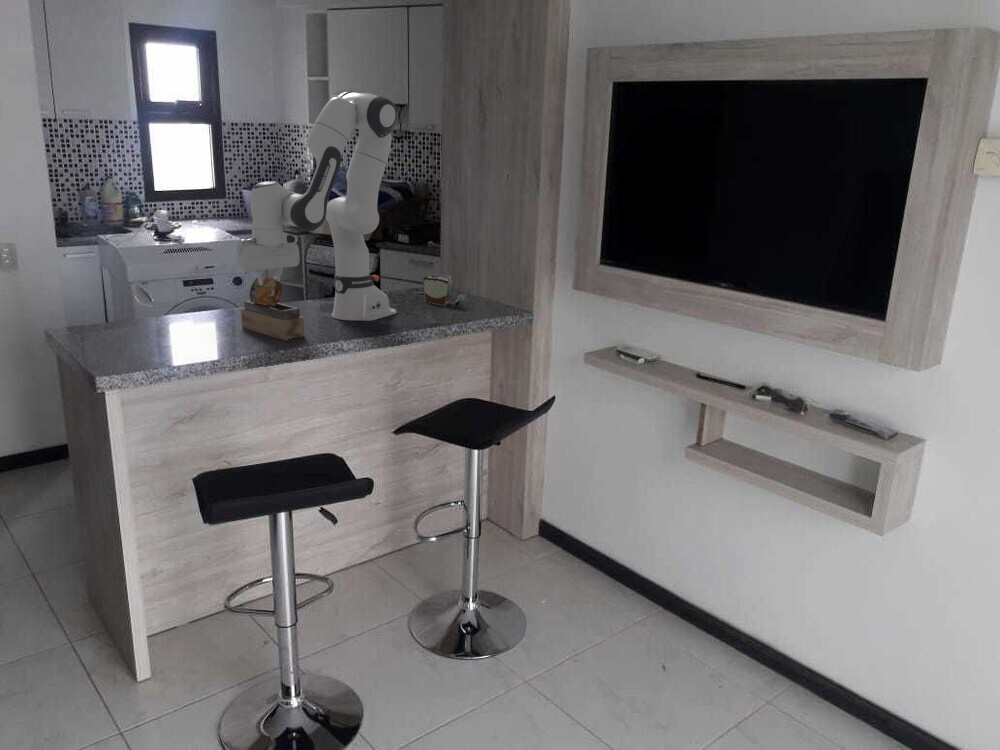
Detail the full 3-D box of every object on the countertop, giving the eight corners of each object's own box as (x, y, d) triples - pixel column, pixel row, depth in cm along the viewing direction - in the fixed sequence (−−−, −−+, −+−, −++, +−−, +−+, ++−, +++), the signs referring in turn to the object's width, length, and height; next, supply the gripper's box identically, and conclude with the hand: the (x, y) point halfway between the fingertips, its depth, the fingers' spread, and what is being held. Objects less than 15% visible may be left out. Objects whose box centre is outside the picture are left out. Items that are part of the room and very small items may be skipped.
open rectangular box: (261, 323, 258) (260, 297, 255) (304, 336, 244) (303, 309, 242) (242, 327, 252) (240, 300, 250) (284, 340, 239) (283, 312, 237)
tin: (246, 300, 248) (253, 274, 248) (255, 303, 250) (262, 276, 250) (269, 307, 237) (276, 279, 237) (279, 309, 239) (286, 282, 239)
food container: (458, 303, 297) (459, 277, 294) (449, 306, 292) (449, 279, 289) (431, 299, 303) (432, 273, 300) (421, 301, 298) (421, 275, 295)
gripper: (243, 241, 230) (245, 289, 234) (302, 236, 245) (303, 281, 249) (230, 238, 234) (232, 285, 238) (289, 234, 249) (290, 278, 253)
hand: (269, 283), depth 244 cm, fingers closed on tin, 3 cm apart
